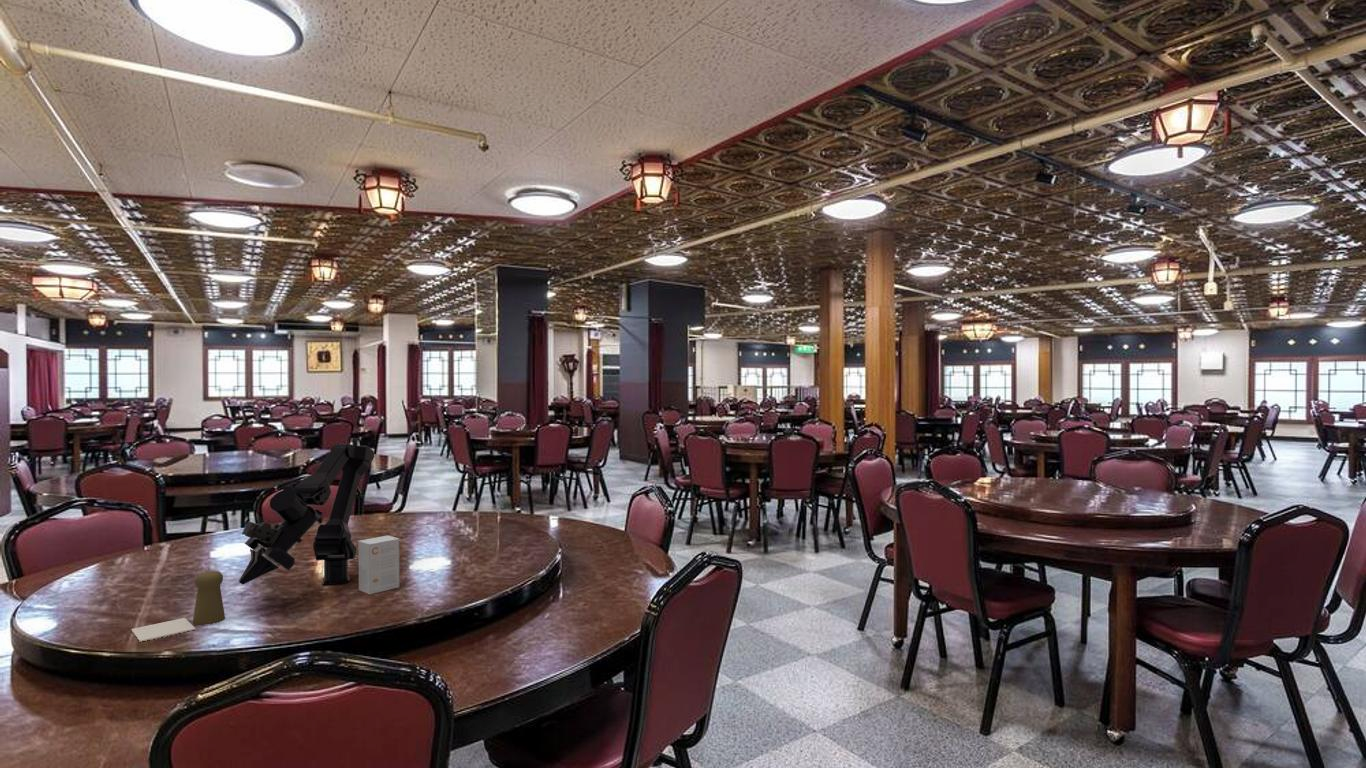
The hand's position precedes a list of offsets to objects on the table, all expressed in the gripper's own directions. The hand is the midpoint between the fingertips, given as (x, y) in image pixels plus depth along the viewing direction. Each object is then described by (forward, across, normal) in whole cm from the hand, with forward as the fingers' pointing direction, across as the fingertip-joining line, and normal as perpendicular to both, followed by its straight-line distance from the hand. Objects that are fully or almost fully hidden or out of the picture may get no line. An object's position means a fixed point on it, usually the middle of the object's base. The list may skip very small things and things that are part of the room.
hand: (240, 583), depth 155 cm
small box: (-16, +5, +26) cm, 31 cm away
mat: (+15, 0, -5) cm, 16 cm away
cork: (+10, 0, +1) cm, 10 cm away
